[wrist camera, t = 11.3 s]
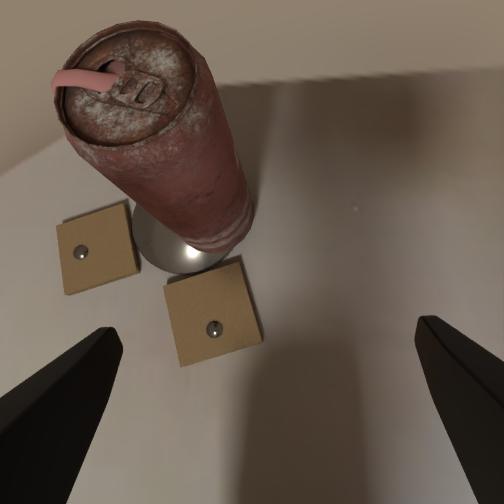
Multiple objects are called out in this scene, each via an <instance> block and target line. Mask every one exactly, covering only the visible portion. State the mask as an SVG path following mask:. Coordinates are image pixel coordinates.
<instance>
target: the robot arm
mask: <svg viewBox="0 0 504 504" xmlns="http://www.w3.org/2000/svg"><path fill="white" fill-rule="evenodd" d="M415 346H416V349H417V352H418V356H419V359H420V362H421V365H422V368H423V372H424V375H425V378H426V381H427V384H428V388H429V391H430V394H431V396H432V399H433V402H434V404H435V406H436V409H437V411H438V413H439V415H440V418H441V420H442V422H443V425H444V427H445V429H446V431H447V434H448V436H449V438H450V440H451V443H452V445H453V447H454V449H455V452H456V454H457V456H458V459H459V461H460V463H461V465H462V468H463V470H464V472H465V474H466V477H467V479H468V481H469V483H470V486H471V488H472V490H473V492H474V495H475V497H476V499H477V502H478V504H504V361H502V360H501V359H499V358H498V357H496V356H495V355H493V354H492V353H490V352H489V351H487V350H486V349H484V348H483V347H482V346H480V345H479V344H477V343H476V342H474V341H473V340H471V339H470V338H468V337H467V336H465V335H464V334H462V333H461V332H459V331H458V330H457V329H455V328H454V327H452V326H451V325H449V324H448V323H446V322H445V321H443V320H442V319H440V318H439V317H437V316H434V315H429V316H420V317H419V318H418V322H417V327H416V332H415ZM122 354H123V345H122V343H121V341H120V338H119V336H118V334H117V332H116V330H115V328H113V327H101V328H99V329H97V330H96V331H94V332H93V333H91V334H90V335H89V336H87V337H86V338H84V339H83V340H81V341H80V342H79V343H77V344H76V345H74V346H73V347H72V348H70V349H69V350H67V351H66V352H64V353H63V354H62V355H60V356H59V357H57V358H56V359H55V360H53V361H52V362H50V363H49V364H47V365H46V366H45V367H43V368H42V369H40V370H39V371H38V372H36V373H35V374H33V375H32V376H30V377H29V378H28V379H26V380H25V381H23V382H22V383H20V384H19V385H18V386H16V387H15V388H13V389H12V390H11V391H9V392H8V393H6V394H5V395H3V396H2V397H1V398H0V504H66V503H67V500H68V498H69V496H70V493H71V491H72V488H73V486H74V483H75V481H76V479H77V476H78V474H79V471H80V469H81V466H82V464H83V461H84V459H85V457H86V454H87V452H88V449H89V447H90V444H91V442H92V439H93V437H94V435H95V432H96V430H97V427H98V425H99V422H100V420H101V418H102V415H103V413H104V410H105V408H106V405H107V403H108V400H109V397H110V394H111V391H112V387H113V384H114V381H115V377H116V374H117V371H118V367H119V364H120V361H121V357H122Z"/></svg>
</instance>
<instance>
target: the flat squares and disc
mask: <svg viewBox="0 0 504 504" xmlns="http://www.w3.org/2000/svg"><path fill="white" fill-rule="evenodd" d="M56 229H57V237H58V245H59V253H60V261H61V269H62V277H63V285H64V293H65V295H73V294H76V293H79V292H82V291H85V290H88V289H92V288H95V287H98V286H101V285H104V284H107V283H110V282H113V281H116V280H119V279H122V278H125V277H128V276H131V275H134V274H137V273H140V270H139V265H138V260H137V255H136V250H135V245H134V240H135V243H136V245H137V248H138V249H139V251H140V252H141V254H142V255H143V256H144V257H145V259H146V260H148V261H149V262H150V263H151V264H153V265H154V266H156V267H158V268H160V269H162V270H164V271H166V272H170V273H173V274H182V275H188V274H195V273H199V272H203V271H205V270H208V269H210V268H212V267H214V266H215V265H217V264H218V263H220V262H221V261H222V260H223V259H224V258H225V257H227V256H228V254H229V253H230V252H231V251H232V250H233V248H234V247H233V248H231V249H228V250H226V251H223V252H218V253H205V252H201V251H197V250H195V249H194V248H192V247H191V246H189V245H187V244H186V243H185V242H184V241H182V240H181V239H180V238H179V237H177V236H176V235H175V234H174V233H173V232H171V231H170V230H169V229H168V228H167V227H165V226H164V225H163V224H162V223H161V222H159V221H158V220H157V219H156V218H154V217H153V216H152V215H151V214H150V213H148V212H147V211H146V210H145V209H144V208H142V207H141V206H140V205H139V204H136V206H135V209H134V213H133V219H132V230H131V225H130V220H129V214H128V209H127V206H126V205H125V204H124V203H122V204H119V205H116V206H113V207H110V208H107V209H104V210H101V211H98V212H95V213H92V214H90V215H87V216H84V217H81V218H78V219H75V220H72V221H69V222H66V223H63V224H60V225H57V226H56ZM132 231H133V235H132ZM133 237H134V240H133ZM163 289H164V293H165V298H166V302H167V307H168V312H169V316H170V321H171V326H172V330H173V335H174V339H175V344H176V349H177V353H178V358H179V362H180V367H184V366H187V365H190V364H194V363H197V362H200V361H203V360H207V359H210V358H213V357H216V356H220V355H223V354H226V353H229V352H233V351H236V350H239V349H242V348H245V347H249V346H252V345H255V344H258V343H262V342H263V340H262V337H261V333H260V330H259V327H258V323H257V320H256V316H255V313H254V310H253V306H252V303H251V299H250V296H249V293H248V289H247V286H246V282H245V279H244V276H243V272H242V269H241V265H240V263H239V262H236V263H233V264H230V265H227V266H224V267H221V268H218V269H215V270H211V271H208V272H205V273H202V274H199V275H196V276H193V277H190V278H187V279H184V280H181V281H177V282H174V283H171V284H168V285H165V286H163Z"/></svg>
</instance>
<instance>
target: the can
mask: <svg viewBox="0 0 504 504" xmlns="http://www.w3.org/2000/svg"><path fill="white" fill-rule="evenodd" d="M51 87H52V90H53V93H54V95H55V97H54V104H55V108H56V111H57V116H58V119H59V121H60V122H61V124H62V125H63V127H64V130H65V134H66V137H67V140H68V141H69V142H70V144H71V145H72V146H73V148H74V149H75V150H76V152H77V153H78V155H79V156H81V157H82V158H83V159H84V160H85V161H87V162H88V163H89V164H90V165H91V166H93V167H94V168H95V169H96V170H97V171H99V172H100V173H101V174H102V175H104V176H105V177H106V178H107V179H108V180H110V181H111V182H112V183H113V184H114V185H116V186H117V187H118V188H119V189H121V190H122V191H123V192H124V193H125V194H127V195H128V196H129V197H130V198H131V199H133V200H134V201H135V202H136V203H137V204H139V205H140V206H141V207H142V208H144V209H145V210H146V211H147V212H148V213H150V214H151V215H152V216H153V217H154V218H156V219H157V220H158V221H159V222H161V223H162V224H163V225H164V226H165V227H167V228H168V229H169V230H170V231H171V232H173V233H174V234H175V235H176V236H177V237H179V238H180V239H181V240H182V241H184V242H185V243H186V244H187V245H189V246H191V247H192V248H194V249H195V250H197V251H201V252H205V253H218V252H223V251H226V250H228V249H231V248H233V247H235V246H236V245H237V244H238V243H239V242H241V241H242V240H243V239H244V238H245V236H246V235H247V233H248V232H249V230H250V229H251V226H252V222H253V218H254V207H253V202H252V198H251V195H250V192H249V189H248V186H247V183H246V180H245V176H244V173H243V170H242V167H241V164H240V161H239V158H238V155H237V151H236V148H235V145H234V142H233V139H232V136H231V133H230V129H229V126H228V123H227V120H226V117H225V114H224V111H223V107H222V104H221V101H220V98H219V95H218V92H217V89H216V85H215V82H214V79H213V76H212V74H211V72H210V69H209V67H208V65H207V63H206V60H205V58H204V57H203V56H202V55H201V54H200V53H199V52H198V51H197V50H196V49H194V48H193V47H192V46H191V45H190V43H189V42H188V41H187V40H186V39H185V38H184V37H183V36H182V35H181V34H180V33H179V32H178V31H177V30H175V29H173V28H170V27H168V26H166V25H163V24H161V23H158V22H150V21H139V20H138V21H132V22H126V23H121V24H116V25H114V26H112V27H109V28H107V29H105V30H102V31H100V32H98V33H96V34H95V35H93V36H92V37H91V38H89V39H88V40H87V41H85V42H84V43H83V44H81V45H80V46H79V47H78V48H77V49H76V50H75V52H74V53H73V54H72V55H71V56H70V58H69V59H68V60H67V61H66V63H65V64H64V66H63V68H62V70H58V71H57V72H56V74H55V76H54V78H53V79H52V82H51Z"/></svg>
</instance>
